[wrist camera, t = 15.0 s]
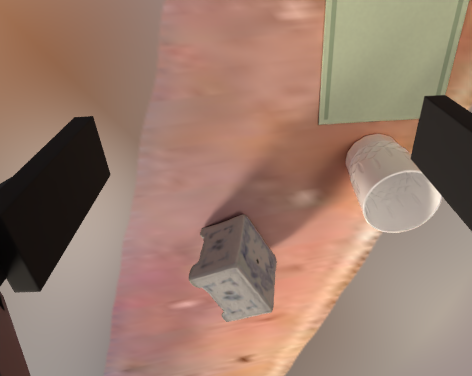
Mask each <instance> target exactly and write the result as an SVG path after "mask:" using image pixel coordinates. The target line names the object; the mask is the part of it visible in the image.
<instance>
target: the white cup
mask: <svg viewBox="0 0 472 376" xmlns="http://www.w3.org/2000/svg"><path fill="white" fill-rule="evenodd" d="M345 164H346V167H347V170H348V173H349V175H350V181H351V183H352V187H353V189H354V192H355V194H356V197H357V200H358V202H359V204H360V207H361V210H362V212H363V215H364V217H365V219H366V221H367V222H368V223H369V224H370V225H371V226H372V227H373V228H375V229H377V230H379V231H383V232H388V233H398V232H405V231H408V230H411V229H414V228H416V227H418V226H420V225H422V224H423V223H425V222H426V221H428V220H429V219H430V218H431V217H432V216H433V215H434V214H435V212H436V211H437V209H438V208H439V206H440V203H441V200H442V196H441V194H440V193H439V192H438V191H437V190H436V188H435V187H434V186H433V185H432V184H431V183H430V181H429V180H428V179H427V178H426V177H425V175H424V174H423V173H422V172H421V171H420V170H419V168H418V167H417V166H416V165H415V164H414V163H413V161H412V160H411V153H409V152H408V151H407V150H406V149H405V148H404V147H402V146H400V145H399V144H398V143H397V142H396V141H395V140H394V139H393V138H392V137H391V136H387V135H383V134H379V133H378V134H373V135H367V136H365V137H363V138H361V139H360V140H358V141H357V142H355V143H354V144H353V146H352V147H351V148H350V150H349V151H348V152H347V157H346V162H345Z"/></svg>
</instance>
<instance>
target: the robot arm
mask: <svg viewBox="0 0 472 376" xmlns="http://www.w3.org/2000/svg"><path fill="white" fill-rule="evenodd" d="M411 160H412V161H413V163H414V164H415V165H416V166H417V167H418V168H419V170H420V171H421V172H422V173H423V174H424V175H425V177H426V178H427V179H428V180H429V181H430V183H431V184H432V185H433V186H434V187H435V188H436V190H437V191H438V192H439V193H440V194H441V196H442V197H444V199H445V200H446V201H447V203H448V204H449V205H450V206H451V207H452V209H453V210H454V211H455V212H456V213H457V214H458V215H459V217H460V218H461V219H462V220H463V221H464V223H465V224H466V225H467V226H468V227H469V229H470V230H471V231H472V113H471V112H469V111H468V110H466V109H465V108H463V107H462V106H460V105H459V104H457V103H456V102H454V101H453V100H452V99H450V98H449V97H447V96H446V95H435V96H424V100H423V105H422V109H421V114H420V118H419V123H418V127H417V132H416V136H415V141H414V145H413V150H412V154H411ZM109 176H110V172H109V168H108V165H107V161H106V158H105V155H104V151H103V148H102V145H101V141H100V138H99V135H98V131H97V128H96V125H95V121H94V118H93V116H90V117H74V118H73V119H72V120H71V121H70V122H69V123H68V124H67V125H66V126H65V127H64V128H63V129H62V130H61V131H60V132H59V133H58V134H57V135H56V136H55V137H54V138H52V139H51V140H50V141H49V142H48V143H47V144H46V145H45V146H44V147H43V148H42V149H41V150H40V151H39V152H38V153H37V154H36V155H35V156H34V157H33V158H32V159H31V160H30V161H28V163H26V164H25V165H24V166H23V167H22V168H21V169H20V170H19V171H18V172H17V173H16V174H15V175H14V176H13V177H11V178H9V179H8V180H6V181H4V182H3V183H1V184H0V286H1V284H2V283H3V282H4V280H5V279H6V278H7V280H8V282H9V284H10V285H11V287H12V289H13V290H14V292H40V291H41V290H42V288H43V286H44V285H45V283H46V281H47V280H48V278H49V276H50V275H51V273H52V271H53V270H54V268H55V266H56V265H57V263H58V261H59V260H60V258H61V256H62V255H63V253H64V251H65V250H66V248H67V246H68V245H69V243H70V241H71V240H72V238H73V236H74V235H75V233H76V231H77V230H78V228H79V226H80V225H81V223H82V221H83V220H84V218H85V216H86V215H87V213H88V211H89V210H90V208H91V206H92V205H93V203H94V201H95V200H96V198H97V196H98V195H99V193H100V191H101V190H102V188H103V186H104V185H105V183H106V181H107V180H108V178H109ZM0 376H30V373H29V370H28V367H27V364H26V361H25V358H24V355H23V352H22V349H21V347H20V344H19V341H18V338H17V335H16V332H15V329H14V326H13V323H12V320H11V317H10V315H9V311H8V308H7V306H6V303H5V300H4V297H3V295H2V294H1V292H0Z"/></svg>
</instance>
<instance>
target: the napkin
mask: <svg viewBox="0 0 472 376" xmlns="http://www.w3.org/2000/svg"><path fill="white" fill-rule="evenodd" d="M468 3H469V0H326V9H325V25H324V41H323V58H322V74H321V90H320V106H319V123H318V124H319V125H322V124H339V123H356V122H373V121H391V120H408V119H419V118H420V114H421V109H422V105H423V100H424V96H435V95H445V93H446V90H447V86H448V82H449V78H450V74H451V70H452V66H453V62H454V58H455V54H456V50H457V46H458V42H459V38H460V34H461V30H462V27H463V23H464V19H465V15H466V11H467V7H468Z"/></svg>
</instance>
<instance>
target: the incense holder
mask: <svg viewBox="0 0 472 376" xmlns="http://www.w3.org/2000/svg"><path fill="white" fill-rule="evenodd" d="M200 235H201V237H202V238H203V239H204V244H203V247H202V250H201V255H200V259H199V261H198V263H196V264H195V265H193V267H192V268H191V270H190V274H189V281H190V283H191V284H192V285H193V286H195V287H198V288H203V289H204V290H205V291H207V292H208V293H209V294H210V295H211V297H212V298H213V299H214V300H215V302H216V303H217V304H218V305H219V306H220V307H221V308H222V310H223V311H224V312H223V313H222V317H223V319H224V320H225V321H226V322H229V321H235V320H239V319H244V318H248V317H252V316H257V315H260V314H265V313H271V312H272V310H273V305H274V285H275V271H276V263H277V261H276V257H275V255H274V254H273V252H272V251H271V250H270V248H269V247H268V246H267V245H266V243H265V242H264V240H263V238H262V237H261V235H260V234H259V232H258V231H257V230H256V229H255V227H254V226H253V224H252V223H251V221H250V220H249V218H248V217H247V216H246V215H240V216H237V217H235V218H232V219H230V220H228V221H225V222H222V223H219V224H217V225H213V226H209V227H206V228H202V230H201V233H200Z"/></svg>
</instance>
